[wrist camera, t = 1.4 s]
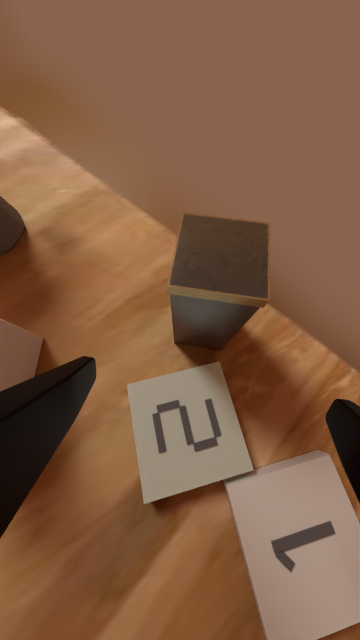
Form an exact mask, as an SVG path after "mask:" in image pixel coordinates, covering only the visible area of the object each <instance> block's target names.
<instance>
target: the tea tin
mask: <svg viewBox="0 0 360 640" xmlns="http://www.w3.org/2000/svg"><path fill="white" fill-rule="evenodd" d="M167 291H168V294H170V299H171V310H172V322H173V333H174V343H177V344H183V345H189V346H195V347H202V348H208V349H214V350H222V348H223V347H224V346H225V345H226V344H227V343H228V342H229V341H230V340H231V339H232V338H233V336H234V335H235V334H236V333H237V332H238V331H239V330H240V329H241V328H242V327H243V325H244V324H245V323H246V322H247V321H248V320H249V319H250V318H251V317H252V316H253V315H254V313H255V312H256V311H257V310H258V309H259V308H260V307H262V308H264V307H265V305H266V304H267V303H268V302H269V301H270V223H267V222H257V221H250V220H242V219H234V218H226V217H218V216H210V215H202V214H193V213H185V212H183V214H182V218H181V223H180V228H179V232H178V237H177V241H176V246H175V251H174V256H173V260H172V265H171V270H170V274H169V279H168V284H167Z"/></svg>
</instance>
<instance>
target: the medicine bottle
mask: <svg viewBox="0 0 360 640" xmlns="http://www.w3.org/2000/svg"><path fill="white" fill-rule="evenodd" d="M42 343H43V338H42V336H39V335H37V334H35V333H32V332H30V331H28V330H26V329H23V328H21V327H19V326H16V325H14V324H12V323H9V322H7V321H5V320H3V319H0V391H2V390H5V389H7V388H9V387H12V386H14V385H17V384H19V383H21V382H24V381H26V380H28V379H31V378H33V377H34V376H35V372H36V368H37V364H38V359H39V355H40V351H41V347H42Z"/></svg>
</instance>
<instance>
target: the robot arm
mask: <svg viewBox="0 0 360 640" xmlns="http://www.w3.org/2000/svg"><path fill="white" fill-rule="evenodd" d="M95 379H96V363H95V359H94V358H93V357H87V356H83V357H80V358H78V359H75V360H73V361H71V362H68V363H66V364H64V365H61V366H59V367H57V368H54V369H52V370H49V371H47V372H45V373H42V374H40V375H38V376H35V377H33V378H31V379H28V380H26V381H24V382H21V383H19V384H17V385H14V386H12V387H9V388H7V389H5V390H2V391H0V538H1V536H2V535H3V533H4V532H5V530H6V528H7V527H8V525H9V524H10V522H11V521H12V519H13V517H14V516H15V514H16V513H17V511H18V510H19V508H20V506H21V505H22V503H23V502H24V500H25V498H26V497H27V495H28V494H29V492H30V491H31V489H32V487H33V486H34V484H35V483H36V481H37V479H38V478H39V476H40V475H41V473H42V472H43V470H44V468H45V467H46V465H47V464H48V462H49V460H50V459H51V457H52V456H53V454H54V453H55V451H56V449H57V448H58V446H59V445H60V443H61V441H62V440H63V438H64V437H65V435H66V434H67V432H68V430H69V429H70V427H71V426H72V424H73V422H74V421H75V419H76V417H77V415H78V414H79V412H80V410H81V408H82V406H83V404H84V402H85V400H86V398H87V396H88V394H89V392H90V390H91V388H92V386H93V384H94V382H95ZM326 423H327V425H328V428H329V431H330V433H331V436H332V439H333V442H334V444H335V447H336V450H337V453H338V455H339V458H340V461H341V463H342V466H343V468H344V470H345V473H346V475H347V477H348V479H349V481H350V484H351V486H352V488H353V490H354V492H355V494H356V496H357V499H358V501H359V503H360V407H359V406H358V405H356V404H355V403H353V402H351V401H349V400H344V399H336V400H334V402H333V403H332V405H331V407H330V408H329V410H328V412H327V413H326Z"/></svg>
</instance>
